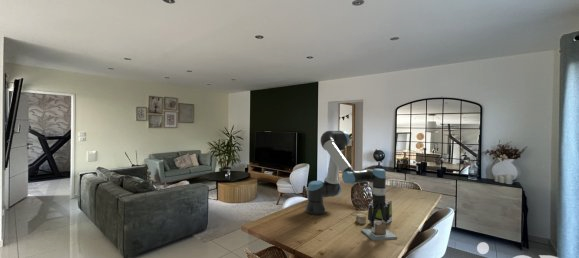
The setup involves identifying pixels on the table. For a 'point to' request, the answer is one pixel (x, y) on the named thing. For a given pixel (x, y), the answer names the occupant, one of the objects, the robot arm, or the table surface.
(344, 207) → the table surface
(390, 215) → the tea box
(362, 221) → the oak cube
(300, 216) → the table surface
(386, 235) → the board
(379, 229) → the walnut cube
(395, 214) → the table surface
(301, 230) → the table surface
